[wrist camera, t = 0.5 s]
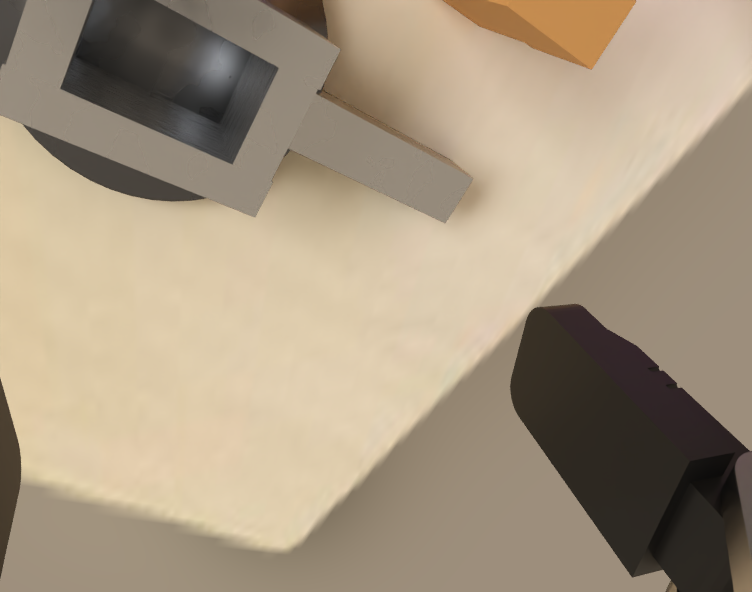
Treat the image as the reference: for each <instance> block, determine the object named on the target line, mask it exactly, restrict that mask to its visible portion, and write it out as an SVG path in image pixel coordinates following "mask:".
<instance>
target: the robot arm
mask: <svg viewBox="0 0 752 592" xmlns="http://www.w3.org/2000/svg"><path fill="white" fill-rule="evenodd" d="M510 388H511V398H512V402H513V405H514V408H515V410H516V412H517V414H518V416H519V417H520V419H521V420H522V422H523V423H524V424H525V426H526V427H527V429H528V430H529V432H530V433H531V434H532V436H533V437H534V439H535V440H536V441H537V443H538V444H539V446H540V447H541V449H542V450H543V451H544V453H545V454H546V456H547V457H548V459H549V460H550V461H551V463H552V464H553V465H554V467H555V468H556V470H557V471H558V473H559V474H560V475H561V477H562V478H563V480H564V481H565V483H566V484H567V485H568V487H569V488H570V489H571V491H572V493H573V494H574V495H575V497H576V498H577V500H578V501H579V503H580V504H581V505H582V507H583V508H584V510H585V511H586V512H587V514H588V515H589V517H590V518H591V519H592V521H593V522H594V524H595V525H596V527H597V528H598V530H599V531H600V532H601V534H602V535H603V536H604V538H605V539H606V541H607V542H608V544H609V545H610V546H611V548H612V549H613V551H614V552H615V554H616V555H617V556H618V558H619V559H620V561H621V562H622V564H623V565H624V566H625V568H626V569H627V571H628V572H629V574H630V575H631V576H632V577H636V576H640V575H643V574H647V573H651V572H655V571H659V570H664V571H665V573H666V574H667V575H668V577H669V578H670V579H671V581H670V583H669V585H668V587H667V589H666V592H752V451H749V450H748V449H747V448H746V447H745V446H744V445H743V444H742V443H741V442H739V441H738V440H737V439H736V438H735V437H734V436H733V435H732V434H731V433H730V432H729V431H728V430H727V429H725V428H724V427H723V426H722V425H721V424H720V423H719V422H718V421H717V420H716V419H715V418H714V417H713V416H711V415H710V414H709V413H708V412H707V411H706V410H705V409H704V408H703V407H702V406H701V405H700V404H699V403H697V402H696V401H695V400H694V399H693V398H692V397H691V396H690V395H689V394H688V393H687V392H686V391H685V390H684V389H683V388H678V387H677V383H676V382H675V381H674V380H673V379H672V378H671V377H670V376H669V375H668V374H666V373H665V372H664V371H660V370H659V366H658V365H657V364H656V363H655V362H654V361H652V360H651V359H650V358H649V357H648V356H647V355H646V354H645V353H644V352H642V350H641V349H640V348H638V347H637V346H636V345H634V344H632V343H631V342H629V341H627V340H625V339H624V338H622V337H620V336H618V335H617V334H615V333H613V332H611V331H610V330H607V329H606V328H605V327H604V326H603V325H602V324H601V323H600V322H599V321H598V320H597V319H596V318H595V317H594V316H592V315H591V314H590V313H589V312H588V311H587V310H586V309H585V308H584V307H583V306H581V305H578V304H568V305H559V306H548V307H537V308H534V309H533V310H532V311H531V312H530V313H529V315H528V317H527V320H526V324H525V328H524V332H523V335H522V339H521V343H520V347H519V350H518V354H517V358H516V362H515V366H514V370H513V374H512V378H511V385H510ZM20 482H21V456H20V448H19V443H18V439H17V436H16V432H15V428H14V425H13V421H12V418H11V414H10V411H9V407H8V404H7V400H6V397H5V393H4V390H3V386H2V382H1V379H0V577H1V573H2V568H3V563H4V559H5V554H6V549H7V545H8V540H9V535H10V531H11V526H12V522H13V517H14V512H15V508H16V503H17V498H18V494H19V489H20Z"/></svg>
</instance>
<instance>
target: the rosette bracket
mask: <svg viewBox="0 0 752 592" xmlns="http://www.w3.org/2000/svg"><path fill="white" fill-rule="evenodd" d="M340 51H341V49H340V48H338V47H337V46H336V45H334V44H333V43H332V42H330V41H329V40H328V37H327V25H326V18H325V13H324V8H323V3H322V0H0V115H1V116H4V117H6V118H9V119H11V120H14V121H16V122H19V123H21V124H23V125H24V127H25V128H26V129H27V130H28V131H29V132H30V134H31V135H32V136H33V137H34V138H35V139H36V140H37V141H38V142H39V143H40V144H41V145H42V146H43V147H44V148H45V149H46V150H47V151H49V152H50V153H51V154H52V155H53V156H54V157H56V158H57V159H58V160H60V161H61V162H62V163H64V164H65V165H66V166H68V167H69V168H70V169H72V170H74V171H75V172H77V173H79V174H80V175H82V176H84V177H86V178H87V179H89V180H91V181H93V182H95V183H97V184H100V185H102V186H104V187H106V188H109V189H111V190H114V191H117V192H121V193H124V194H127V195H130V196H135V197H140V198H145V199H150V200H161V201H191V200H198V199H204V198H208V199H210V200H213V201H215V202H218V203H220V204H223V205H225V206H228V207H230V208H233V209H235V210H238V211H240V212H243V213H245V214H248V215H250V216H252V217H256V215H257V213H258V211H259V209H260V207H261V205H262V203H263V201H264V199H265V197H266V195H267V193H268V191H269V189H270V187H271V185H272V183H273V181H272V178H273V177H274V175H275V173H276V171H277V169H278V167H279V165H280V163H281V161H282V159H283V157H284V156H285V155H286V154H287V153H288V152H289V151H290V150H292V151H294V152H296V153H299V154H301V155H303V156H305V157H307V158H309V159H311V160H313V161H315V162H317V163H320V164H322V165H324V166H326V167H328V168H330V169H332V170H334V171H336V172H338V173H341V174H343V175H345V176H347V177H349V178H351V179H353V180H355V181H357V182H359V183H362V184H364V185H366V186H368V187H370V188H372V189H374V190H376V191H378V192H380V193H383V194H385V195H387V196H389V197H391V198H393V199H395V200H397V201H399V202H402V203H404V204H406V205H408V206H410V207H412V208H414V209H416V210H418V211H420V212H423V213H425V214H427V215H429V216H431V217H433V218H435V219H437V220H439V221H441V222H444V223H446V222H447V220H448V218H449V217H450V215H451V214H452V212H453V211H454V209H455V207H456V206H457V204H458V203H459V201H460V199H461V198H462V196H463V195H464V193H465V191H466V190H467V188H468V187H469V185H470V184H471V182H472V180H473V178H472V177H471V176H470V175H468V174H467V173H466V172H465V171H464V170H462V169H461V168H460V167H459V166H458V165H456V164H455V163H454V162H453V161H451V160H449V159H448V158H446V157H444V156H442V155H440V154H438V153H436V152H435V151H433V150H431V149H429V148H427V147H425V146H424V145H422V144H420V143H418V142H416V141H414V140H413V139H411V138H409V137H407V136H405V135H403V134H402V133H400V132H398V131H396V130H394V129H392V128H391V127H389V126H387V125H385V124H383V123H381V122H380V121H378V120H376V119H374V118H372V117H370V116H369V115H367V114H365V113H363V112H361V111H359V110H358V109H356V108H354V107H352V106H350V105H348V104H347V103H345V102H343V101H341V100H339V99H337V98H336V97H334V96H332V95H330V94H328V93H326V92H324V91H323V90H322V89H323V85H324V82H325V80H326V78H327V76H328V74H329V72H330V70H331V68H332V66H333V64H334V62H335V60H336V58H337V56H338V54H339V52H340Z"/></svg>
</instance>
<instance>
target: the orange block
mask: <svg viewBox="0 0 752 592" xmlns="http://www.w3.org/2000/svg"><path fill="white" fill-rule="evenodd" d="M443 1H444V2H446V3H447V4H449V5H450V6H451V7H453V8H454V9H456V10H457V11H459V12H460V13H461V14H463V15H464V16H466V17H467V18H468V19H470V20H471V21H473V22H474V23H476V24H477V25H478V26H480V27H483V28H486V29H489V30H491V31H494V32H497V33H500V34H502V35H505V36H508V37H511V38H514V39H516V40H519V41H522V42H525V43H526V44H527V45H529V46H530V47H532V48H534V49H537V50H540V51H542V52H545V53H548V54H550V55H553V56H556V57H559V58H561V59H564V60H567V61H570V62H572V63H575V64H578V65H581V66H583V67H586V68H589V69H591V70H592V68H593V67H594V65H595V64H596V62H597V60H598V59H599V57H600V56H601V54H602V53H603V51H604V50H605V48H606V47H607V45H608V44H609V42H610V41H611V39H612V38H613V36H614V35H615V33H616V32H617V30H618V29H619V27H620V25H621V24H622V22H623V21H624V19H625V18H626V16H627V15H628V13H629V12H630V10H631V9H632V7H633V6H634V4H635V3H636V0H443Z"/></svg>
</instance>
